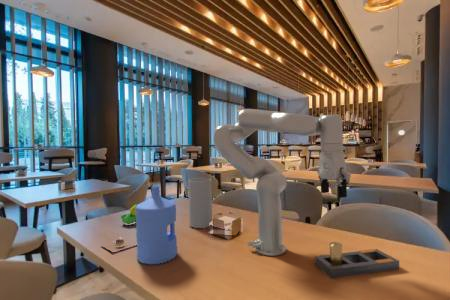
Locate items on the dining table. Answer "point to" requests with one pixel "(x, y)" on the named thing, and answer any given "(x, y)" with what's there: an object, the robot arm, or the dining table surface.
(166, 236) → the water jug
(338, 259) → the brass peg
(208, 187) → the cylinder vase
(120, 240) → the dessert
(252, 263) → the dining table surface
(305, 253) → the dining table surface
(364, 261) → the grey compartment tray
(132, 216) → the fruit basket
